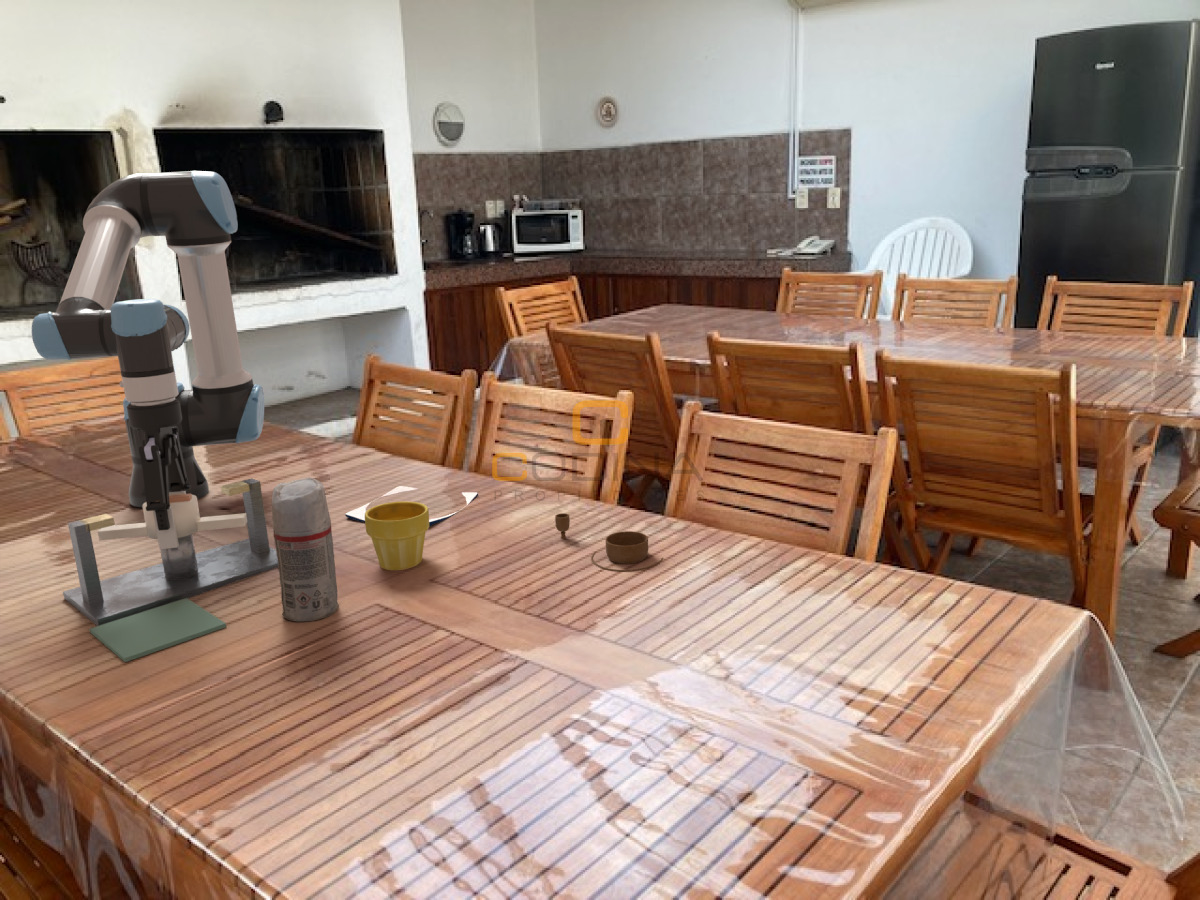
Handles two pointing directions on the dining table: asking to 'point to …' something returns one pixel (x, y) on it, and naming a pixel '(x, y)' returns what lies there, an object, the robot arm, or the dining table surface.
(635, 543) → the place setting
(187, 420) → the robot arm
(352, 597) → the dining table surface
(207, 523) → the cream crossbar with hub
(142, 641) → the mat
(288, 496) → the spray can
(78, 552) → the grey frame
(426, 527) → the plant pot
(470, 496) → the plate
